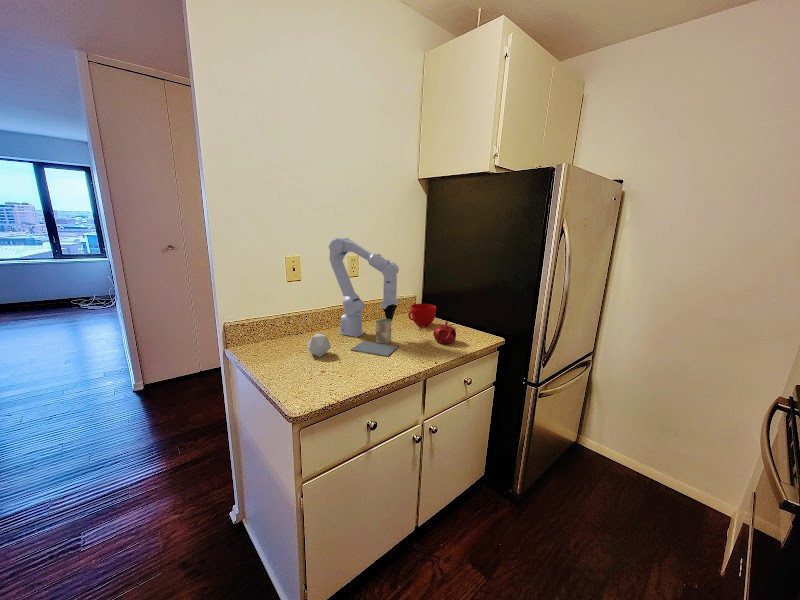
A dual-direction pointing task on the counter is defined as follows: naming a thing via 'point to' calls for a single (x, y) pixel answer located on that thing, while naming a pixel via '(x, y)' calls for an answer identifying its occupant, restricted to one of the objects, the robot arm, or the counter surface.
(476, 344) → the counter surface
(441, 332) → the pomegranate
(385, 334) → the block
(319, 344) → the die
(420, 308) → the ceramic cup
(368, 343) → the mat
